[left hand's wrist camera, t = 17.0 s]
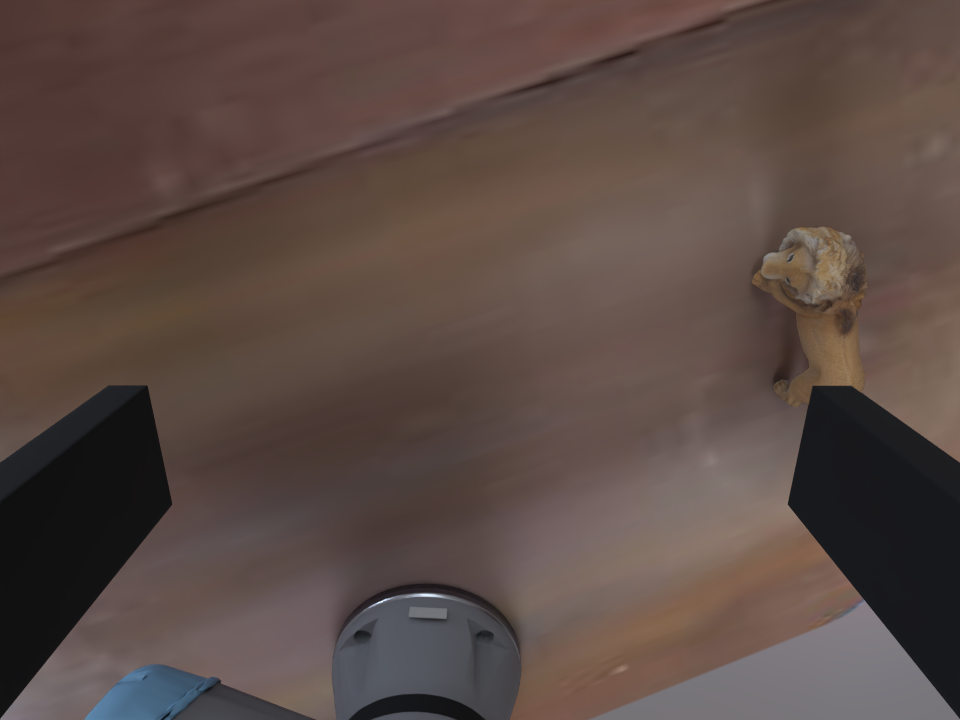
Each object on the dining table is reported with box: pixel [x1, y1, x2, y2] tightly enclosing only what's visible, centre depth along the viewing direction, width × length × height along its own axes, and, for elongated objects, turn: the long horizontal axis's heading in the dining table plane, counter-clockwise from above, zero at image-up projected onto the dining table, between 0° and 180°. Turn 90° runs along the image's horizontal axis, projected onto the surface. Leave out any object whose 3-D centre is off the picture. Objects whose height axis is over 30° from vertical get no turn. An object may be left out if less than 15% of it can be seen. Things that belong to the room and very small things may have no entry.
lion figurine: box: [752, 227, 868, 407], centre depth 37 cm, size 15×5×9 cm, turn 27°
